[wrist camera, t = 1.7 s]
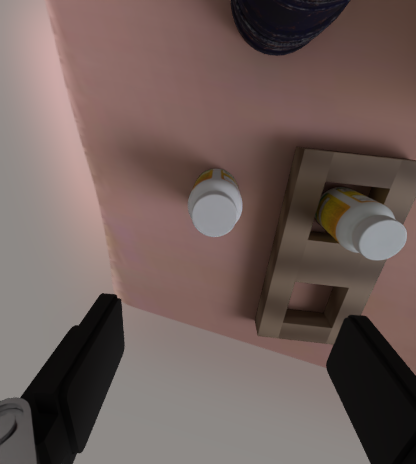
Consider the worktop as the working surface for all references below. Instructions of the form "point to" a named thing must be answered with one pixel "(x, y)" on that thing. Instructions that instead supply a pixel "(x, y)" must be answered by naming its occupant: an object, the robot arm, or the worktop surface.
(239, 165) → the worktop surface
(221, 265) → the worktop surface
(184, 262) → the worktop surface
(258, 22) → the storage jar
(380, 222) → the supplement bottle
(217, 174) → the supplement bottle
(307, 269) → the bottle rack
